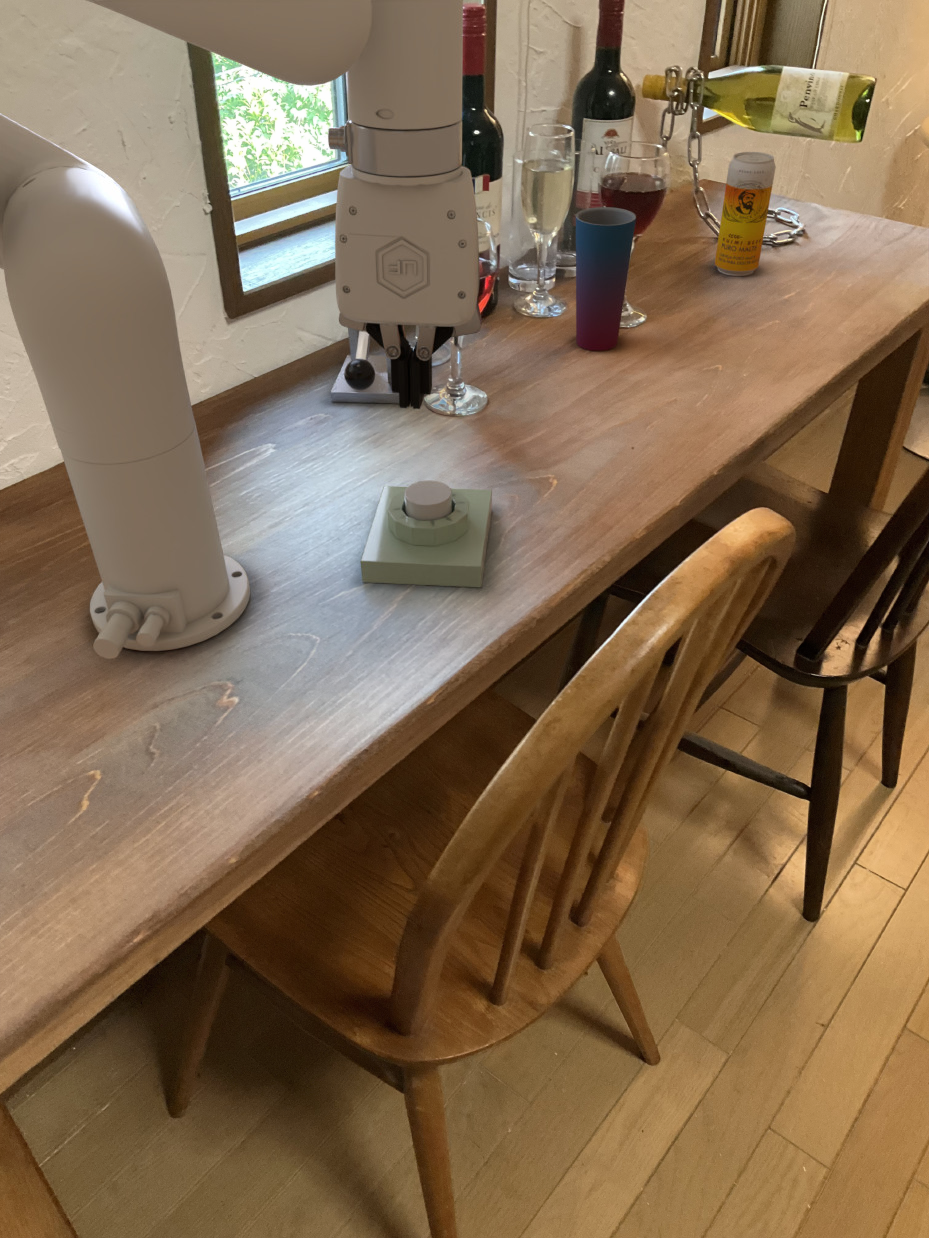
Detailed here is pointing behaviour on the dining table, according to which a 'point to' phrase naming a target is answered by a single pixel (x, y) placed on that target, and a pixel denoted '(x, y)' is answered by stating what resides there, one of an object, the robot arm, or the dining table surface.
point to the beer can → (744, 213)
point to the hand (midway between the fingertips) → (412, 400)
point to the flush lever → (360, 365)
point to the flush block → (428, 542)
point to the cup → (601, 274)
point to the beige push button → (428, 500)
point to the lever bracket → (377, 391)
